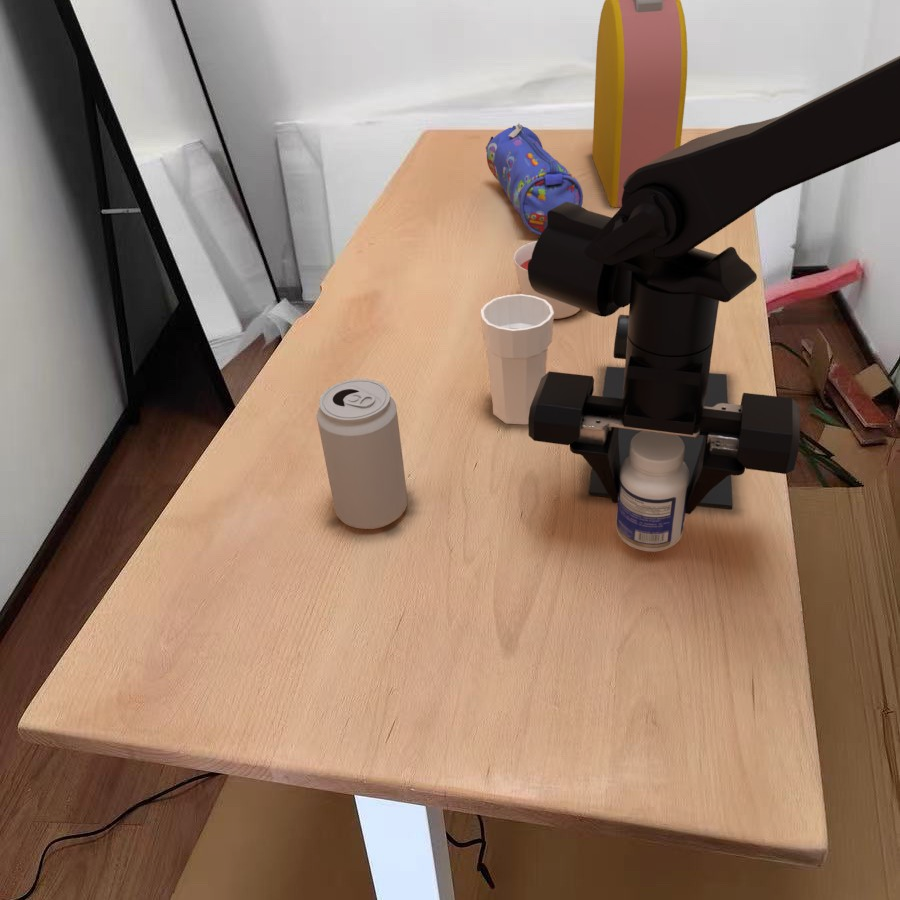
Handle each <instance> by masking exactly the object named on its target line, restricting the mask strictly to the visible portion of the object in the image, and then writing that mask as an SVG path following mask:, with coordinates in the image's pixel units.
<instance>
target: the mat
mask: <svg viewBox="0 0 900 900" xmlns="http://www.w3.org/2000/svg"><path fill="white" fill-rule="evenodd" d="M624 375H625V367H622V366H621V367H619V366H606V369H605V375H604V382H603V390H602V397H611V398H619V399H623V389H624ZM727 377H728V376H727V373H714V372H712V373H711V372H709V378H708V385H707V392H706V396H705V402H704V406H706V407H714V406H715V405H716V404H719V403H727V404H729V402H728V401H729V400H728V381H727ZM639 432H641V431H640V430H632V429H624V428H619V432H618V438H619V455H620V468H621V465H622V463H623V462H624V461H625V459H626V458H627V457H629V451H630V443H631V440H632V438H633V437H634V436H635V435H636V434H637V433H639ZM677 436H679V437H680V438H681V439H682V441H683V442H684V445H685V452H684V460H683V461H684V462H685V464H686V465H687V467H688V469H689V472H690V481H691V478H692V475H693V472H694V468H695V465H696V462H697V459H698V455H699V452H700V449H701V445H702V441H703V437H704V435H699V437H688V436H680V435H677ZM732 482H733V481H732V475H729V476H727V477H726V478H725V479H724V480H722V481H721V482H720V483H719V484H718V485H716V486H715V487H714V488H713V489H711V490H710V491H709V492H708V494H707V495H706V496H705V497H704V498H703V499H702V500H701V502H700V503H699V504H698V505H697V506H699V507H706V508H707V507H709V508H720V509H728V510H729V509H730V510H731V509H733V505H734V502H733V483H732ZM689 485H690V484H689ZM587 494H588V496H594V497H604V498H610V497H609V495H608V493H607V491H606V490H605V488H604V486H603V484H602V482H601V480H600V479H599V477H598V475H597V474H596V473H595V471H594V470H593V469H592V468H591V473H590V480H589V485H588V493H587ZM697 506H696V507H697Z"/></svg>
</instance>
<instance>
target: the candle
mask: <svg viewBox="0 0 900 900" xmlns="http://www.w3.org/2000/svg"><path fill="white" fill-rule="evenodd" d="M536 242H537V240H534V241H531V242H528V243H525V244H524V245H522V246H520V247H519V248H518V249H517V250H516V251H515V252H514V254H513V262H514V267H515V271H516V277H517V281H518V287H519V290H520V294H524V295H531V296H536V297H539V298H541V299H544V300H546V301H547V302H548V303H549V304H550V305H551V306H552V309H553V312H554V318H553V320H559V319H564V318H568V317H571V316H574V315H575V314H577V313H579V311H581V309H580V308H577V307H574V306H572V305H569V304H566V303H563V302H561V301H558V300H555V299H553V298H550V297H547V296H545V295H542V294H539V293H537V292H536V291H534V289H533V288H532V287H531V285H530V282H529V278H528V262H529V261H530V260H531V258H532V253H533V250H534V247H535V244H536Z"/></svg>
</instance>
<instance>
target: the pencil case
mask: <svg viewBox="0 0 900 900" xmlns="http://www.w3.org/2000/svg"><path fill="white" fill-rule="evenodd" d="M485 151H486V162H487V166H488V169H489V170H490V172H491V174H492V175H493V177H494V178H495V179H496V180H497V181H498V182H499V183H500V185H501V187H502V190H503V191H504V193H505V195H506V197H507V198H508V200H509V202H510V203H511V205H512V207H513V208H514V210H515V211H516V212H517V214H518V215H519V217H521V220H522V222H523V224H524V226H525V227H526V228H527V229H528V231H530V232H531V233H533V234H535V235H538V236H540V235H541V233H542V232H543V231H544V229H545V228H546V227H547V212H548V211H549V210H551V209H553V208H555V207H557V206H559V205H561V204H562V203H564V202H569V203H573V204H576V205H579V206H581V207H583V202H584V193H583V189H582V187H581V184H580V182H579V181H578V179H577V178H576V177H575V176H574V175H573V174H571V172H570V171H568V169H566V167H565V166H564V165H562V163H561V162H559V161H558V160H557V159H556V158H554V157H553V156H552V155H551V154H550V153H549V152H547V151H546V150H545V149H544V148H543V145H542V141H541V140H540V138H539V136H538V135H537V134H536V133H535V132H534V131H532V130H531V129H529V128H528V127H526V126H524V125H522V124H520V123H519V122H518V123H517V124H516V125H513V126H511V127H508V128H505V129H504V130H502V131H501V132H499V133H497V134H496V135H495V136H490V138H489V141H488V143H487V145H486V146H485Z"/></svg>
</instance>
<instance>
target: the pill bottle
mask: <svg viewBox="0 0 900 900" xmlns="http://www.w3.org/2000/svg"><path fill="white" fill-rule="evenodd" d="M684 452H685V445H684V442H683V441H682V439H681V438H680V437H679V436H677V435H672V434H664V433H656V432H648V431H641V432H639V433H637V434H636V435H635V436H634V437H633V438H632V440H631V443H630V451H629V457H627V458H626V459H625V461H624V462H623V463H622V465H621V468H620V475H619V490H618V503H617V506H616V518H615V519H616V522H615V527H616V531H617V534H618V536H619V538H620V539H621V540H622V541H623V542H624V543H625V544H626V545H628V546H629V547H631V548H633V549H637V550H639V551H643V552H652V553H653V552H662V551H665V550H668V549H670V548H672V547H674V546H675V545H677V543H679V542H680V540H681V539H682V536H683V533H684V527H685V519H686V514H685V507H686V501H687V497H688V491H689V484H690V472H689V469H688V467H687V465H686V464H685V462H684V461H683V460H684Z"/></svg>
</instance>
